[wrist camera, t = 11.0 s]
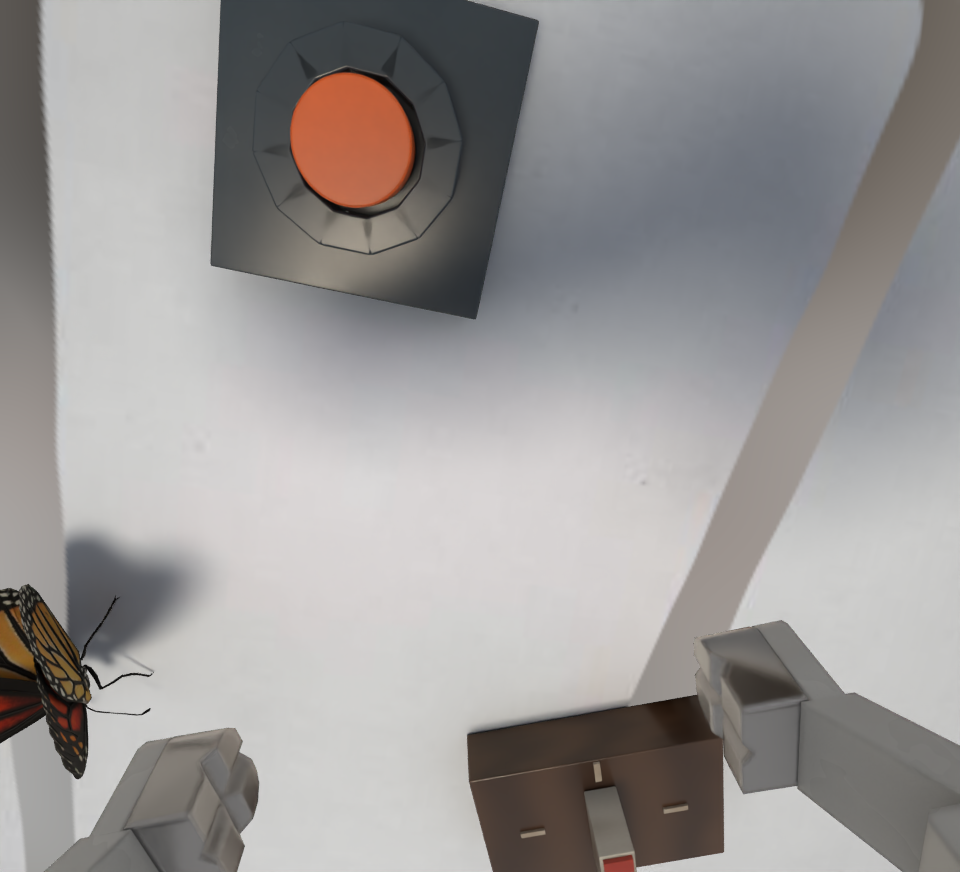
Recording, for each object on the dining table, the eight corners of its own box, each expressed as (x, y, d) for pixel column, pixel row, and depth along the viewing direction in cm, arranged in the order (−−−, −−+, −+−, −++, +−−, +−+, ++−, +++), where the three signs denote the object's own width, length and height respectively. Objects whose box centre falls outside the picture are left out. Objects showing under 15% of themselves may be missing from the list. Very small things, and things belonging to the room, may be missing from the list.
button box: (530, 36, 21) (548, 3, 17) (473, 309, 25) (478, 330, 21) (245, -42, 20) (199, -96, 16) (230, 259, 23) (189, 271, 20)
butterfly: (14, 719, 32) (-161, 932, 23) (-87, 575, 28) (-345, 762, 19) (229, 678, 32) (140, 878, 22) (157, 528, 28) (15, 693, 19)
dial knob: (623, 847, 34) (642, 920, 31) (593, 852, 34) (609, 926, 31) (615, 785, 32) (636, 856, 29) (583, 791, 32) (600, 862, 29)
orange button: (424, 98, 18) (422, 89, 17) (405, 217, 20) (401, 219, 18) (308, 69, 18) (295, 56, 16) (297, 193, 19) (284, 192, 18)
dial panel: (701, 693, 34) (725, 740, 31) (704, 805, 38) (725, 855, 35) (466, 734, 34) (468, 784, 31) (493, 841, 38) (498, 894, 35)
